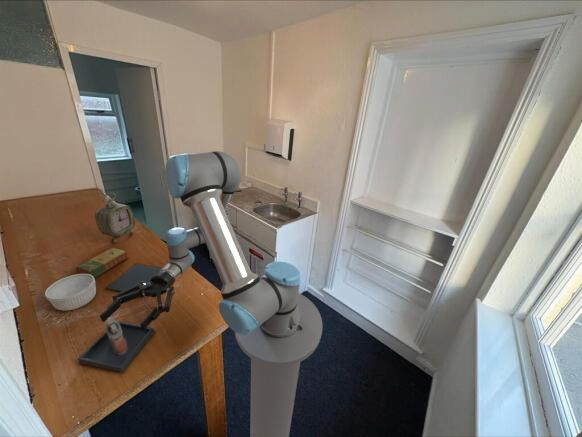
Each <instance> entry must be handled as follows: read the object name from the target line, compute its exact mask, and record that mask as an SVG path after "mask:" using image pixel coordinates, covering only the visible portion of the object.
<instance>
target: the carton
mask: <svg viewBox="0 0 582 437" xmlns="http://www.w3.org/2000/svg"><path fill="white" fill-rule="evenodd" d="M127 259H128V255H127V252H126V251H125V250H122V249H119V248H116V247H110V248H108V249H107V250H105V251H103V252H101V253H98V254H97V255H95V256H93V257H91V258H89V259H87V260H85V261H84V262H81V263H80V264H77V265H75V270H76V274H90V275H92V276H93V277H94V279H95V278H97V277H98V276H100V275H102V274H103V273H105V272H107V271H108V270H110V269H112V268H114V267H115V266H117V265H118V264H120V263H122V262H123V261H125V260H127Z"/></svg>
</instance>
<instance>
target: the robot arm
mask: <svg viewBox="0 0 582 437" xmlns="http://www.w3.org/2000/svg"><path fill="white" fill-rule="evenodd" d="M164 177H165V178H164V179H165V185H166V188H167V191H168V193H169V195H170V196H171V198H173V199H177V200H179V199H180V200H181V203H182V205H183V206H184V207H187V208H189V209H190V210H191V212H192V215H193V217H194V219H195V222H196V224H197V227H193V228H191V229H188V230H186V229H185V228H183V227H174V228H170V229H168V230H167V232H166V234H165V242H166V243H165V244H166V247H167V252H168V258H169V261H168V262H166V264H165V265H164V266H163V267H161V268H162V269H161V270H160V271H159V272H158V273H156V274H155V275H154V276H153V277H152V278H151V280H150V282H149V283H147V284H144V283H143V282H142V281H140V282H138V283H137V284H136V285H134V286H132V287H130V288H127V289H125V290H123V291H121V292H120V291H118V292H117V293H115V294H113V295H112V296H111V298H112V302H111V303H110V304H109V305H107V307H106V309H105V310H104V311H103V312H102V313H101V314H99V318H100V321H101V322H103V323H105V322H107V319H108V318H109V317H112V316H113V314H115V313H116V312H117V311H118V310H119V309H120V308H121V307H122V305H123V304H125V303H129V302H131V301H133V300H136V299H138V298H145V297H147V298H152V299H154V298H156V302H157V307H156V306H154V307H153V308H152V309H151V311H149V313H148V314H147V315H146V317H145V318H144V319H143V320H142V321H141V322H140V324H139V325H141V328H142V330H145V329H146V328H147V327H149V326H150V325H151V323H152V322H153V321H156V320H157V319H158V317H160V315H161V314H163V313H165V314H168V313H169V312H170V310H171V305H172V301H173V300H172V299H173V297H174V295H175V293H176V292H175V287H174V284H175V283H176V282H178V280H179V279H180V278H181V277H182V276H183V274H184V273H185V272H187V271H188V269H189V268H190V267H191V266H192V264H193V263H194V262H195V260H196V258H195V257H196V256H195V255H194V254H193V252H192V251H191V250H190V249H192V248H195V247H197V246H200V245H202V244H205V245H206V248H207V250H208V252H209V254H210V257H211V259H212V262H213V264H214V266H215V268H216V271H217V274H218V275H219V278H220V281H221V284H222V288H221V290H220V295H221V297H222V299H221V300H220V302H219V303H218V311H219V314H220V316H221V318H222V319H223V321H224V322H225V324H226V326H228V328H230V330H232V331H233V332H234V333H235V332H236V333H238V334H240V335H247V334H249V333H251V332H252V331H253V330H255V329H257V328H259V327H260V328H261V330H262V331H263V332H264V333H265V334H267V335H269V336H271V337H275V338H284V337H288V336H290V335H292V334H293V333H295V332H296V330H297V329H298V327H299V328H300V329H301V330H302V329H303V328H302V327H301V326H300V325H299V324H300V313H299V309H298V306H297V300H298V293H299V294H300V292H299V291H300V284H301V272H300V270H299V269H298V268H297V267H296V266H295V265H293V264H292V263H290V262H286V261H273V262H270V263H268V264H267V265H266V266H265V268H264V274H263V275H262V276H259V274H258V273H255V272H252V270H251V268H250V266H249V263H248V261H247V259H246V257H245V254H244V252H243V250H242V247H241V244H240V242H239V240H238V238H237V235H236V232H235V230H234V229H233V226H232V223H231V221H230V219H229V216H228V214H227V212H226V210H227V207H228V205H229V203H230V201H231V198H232V196H233V195H234V194H236V193H237V192H238V189H239V187H240V185H241V181H242V172H241V168H240V166H239V164H238V162H237V161H236V159H235V158H234V157H233V156H231V154H229V153H227V152H224V151H218V150H216V151H207V152H194V153H192V152H191V153H186V152H185V153H181V154H175V155H171V156H169V157H168V158H167V160H166V162H165V166H164ZM143 290H144V293H142V291H143ZM164 294H166V297H165V302H164V305H163V301H162V296H163V295H164Z"/></svg>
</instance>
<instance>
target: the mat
mask: <svg viewBox="0 0 582 437" xmlns="http://www.w3.org/2000/svg"><path fill="white" fill-rule="evenodd" d="M162 268H163V267H157V266H156V267H155V266H149V265H143V264H138V263H135V264H134V265H132V266H131V267H130V268H128V270H125V272H124V273H122V274H121V275H120V276H118V278H116V279H114V280H113V281H112V282H111V283H110V284H108V285H107V286H105V290H110V291H115V292H121V291H123V290H125V289H127V288H130V287H132V286H134V285H136V284H137V283H138V282H140V281H142V282H143V283H144V284H147V283H149V282H150V280H151V278H152V277H153V276H154V275H155V274H156V273H158V272H159V271H160V270H161V269H162ZM142 293H144V290H143V291H142Z"/></svg>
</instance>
